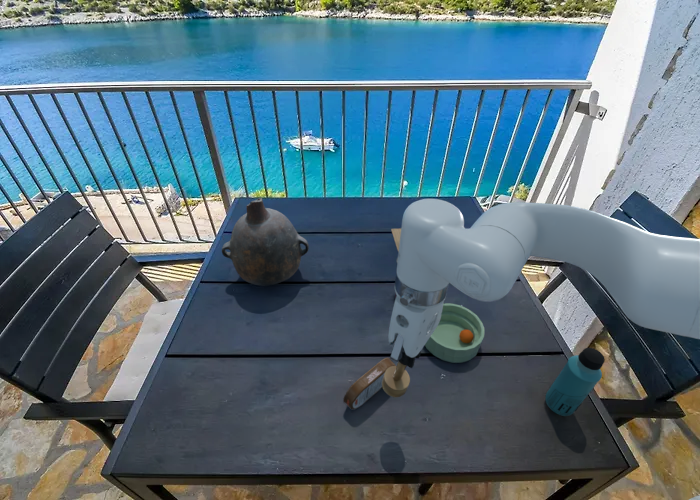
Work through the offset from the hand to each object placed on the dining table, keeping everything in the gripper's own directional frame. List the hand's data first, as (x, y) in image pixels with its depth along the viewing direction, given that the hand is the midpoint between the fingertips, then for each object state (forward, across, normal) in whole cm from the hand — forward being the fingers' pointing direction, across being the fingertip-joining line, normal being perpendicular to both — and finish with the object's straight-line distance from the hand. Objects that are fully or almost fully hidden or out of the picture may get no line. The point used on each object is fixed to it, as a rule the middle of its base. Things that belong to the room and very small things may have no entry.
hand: (407, 357), depth 61 cm
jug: (+26, +18, +59) cm, 67 cm away
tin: (+26, +3, +9) cm, 28 cm away
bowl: (+26, +29, 0) cm, 39 cm away
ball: (+24, +31, -4) cm, 39 cm away
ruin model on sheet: (+26, +61, +26) cm, 72 cm away
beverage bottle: (+26, +26, -28) cm, 47 cm away
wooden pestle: (+11, 0, +2) cm, 11 cm away
